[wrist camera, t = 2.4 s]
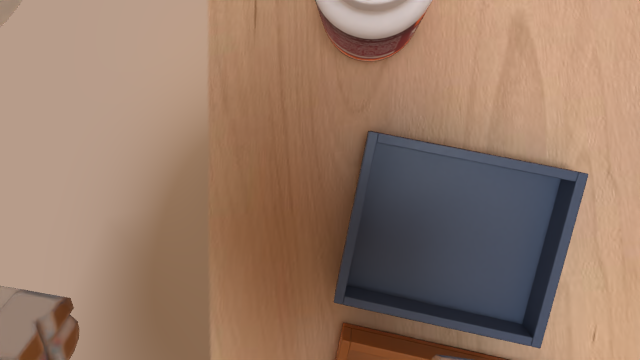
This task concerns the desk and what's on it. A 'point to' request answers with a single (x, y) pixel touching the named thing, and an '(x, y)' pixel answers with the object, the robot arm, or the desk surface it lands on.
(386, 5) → the pill bottle
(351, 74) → the desk surface
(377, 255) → the slate tray
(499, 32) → the desk surface
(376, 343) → the amber tray
